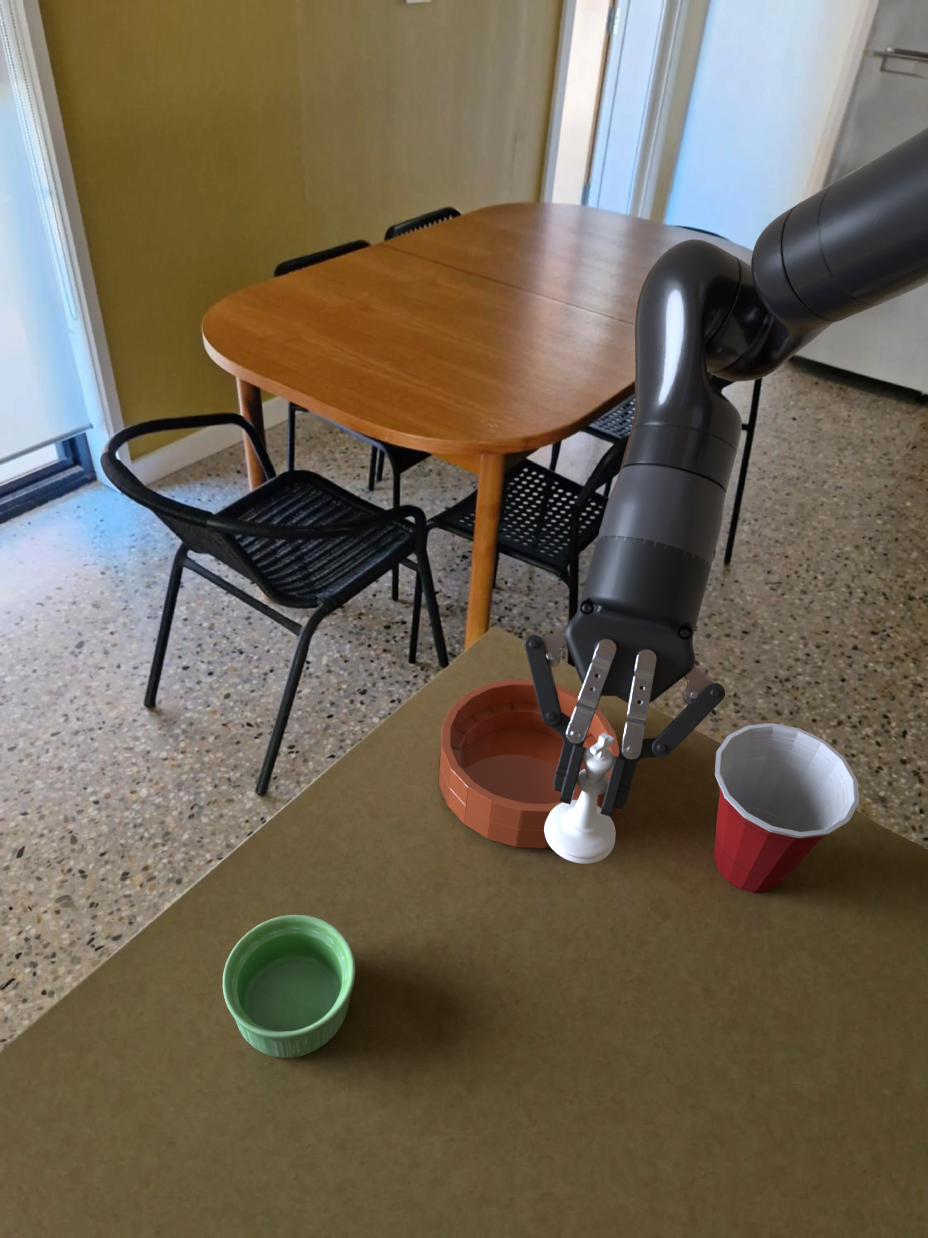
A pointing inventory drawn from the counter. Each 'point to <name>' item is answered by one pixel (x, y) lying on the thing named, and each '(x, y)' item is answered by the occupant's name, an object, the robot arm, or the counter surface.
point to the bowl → (507, 760)
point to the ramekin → (289, 984)
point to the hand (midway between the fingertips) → (586, 807)
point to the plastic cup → (776, 802)
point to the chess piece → (585, 812)
